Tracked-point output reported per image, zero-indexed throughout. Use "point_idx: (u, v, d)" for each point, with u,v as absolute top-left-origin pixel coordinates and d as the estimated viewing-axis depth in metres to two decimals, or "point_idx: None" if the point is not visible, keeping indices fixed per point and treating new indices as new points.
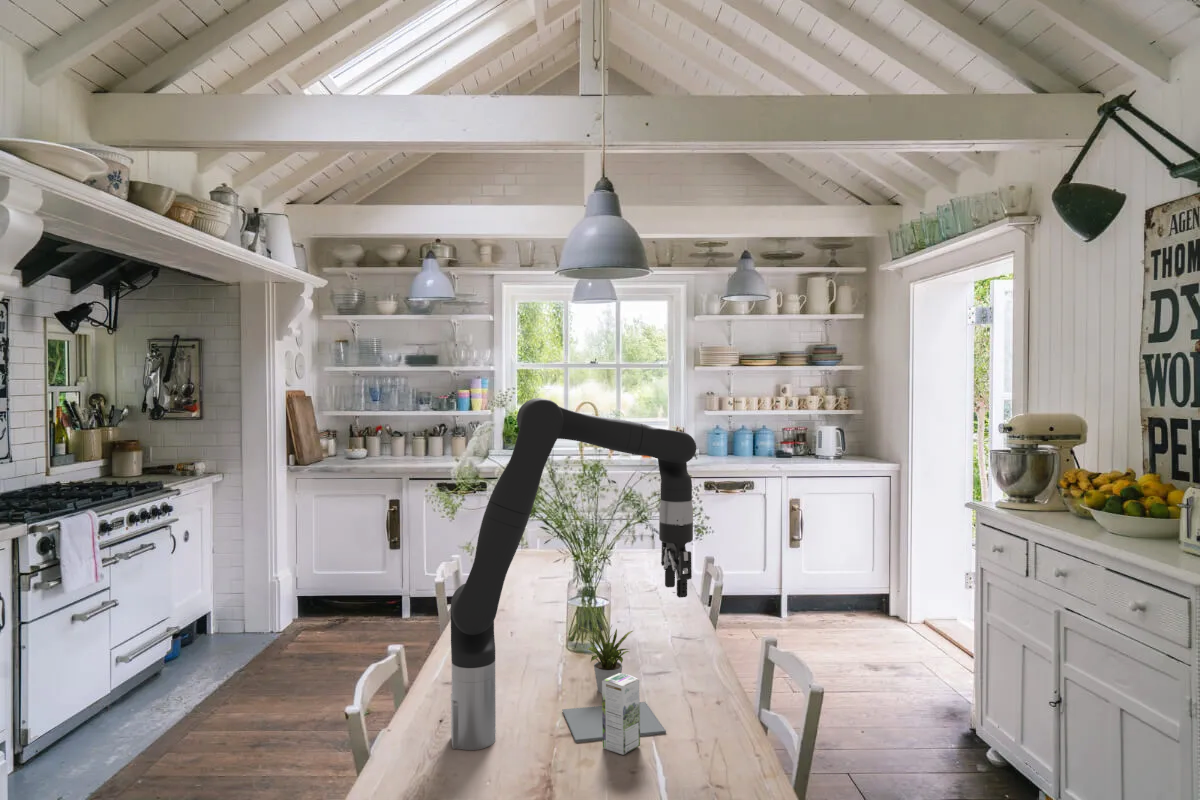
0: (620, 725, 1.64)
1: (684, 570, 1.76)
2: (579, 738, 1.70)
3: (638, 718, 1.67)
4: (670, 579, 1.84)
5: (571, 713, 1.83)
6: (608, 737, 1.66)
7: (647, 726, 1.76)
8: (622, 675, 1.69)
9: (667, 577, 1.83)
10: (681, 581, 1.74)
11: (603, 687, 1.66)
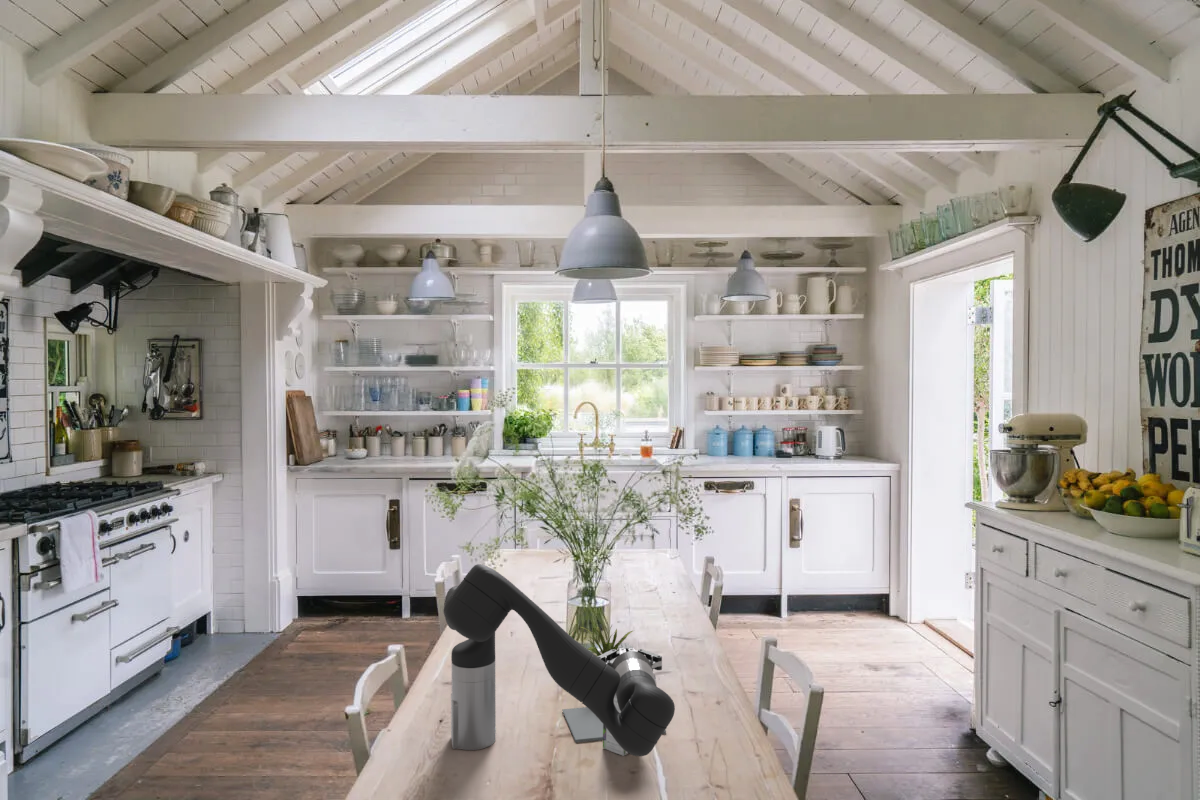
0: None
1: None
2: (579, 738, 1.70)
3: None
4: None
5: (571, 713, 1.83)
6: (609, 738, 1.66)
7: None
8: None
9: None
10: None
11: None
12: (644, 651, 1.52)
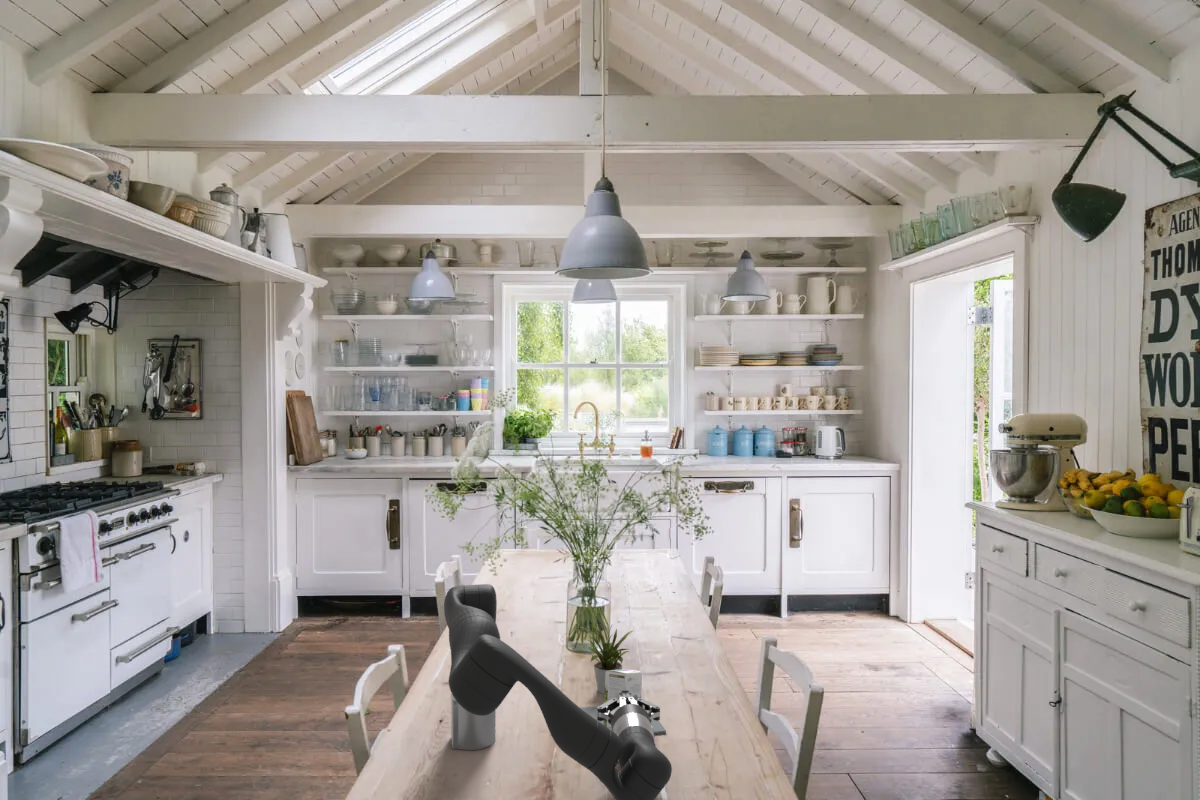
0: None
1: None
2: None
3: None
4: None
5: None
6: None
7: None
8: (625, 669, 1.72)
9: None
10: None
11: (606, 677, 1.70)
12: (643, 701, 1.60)
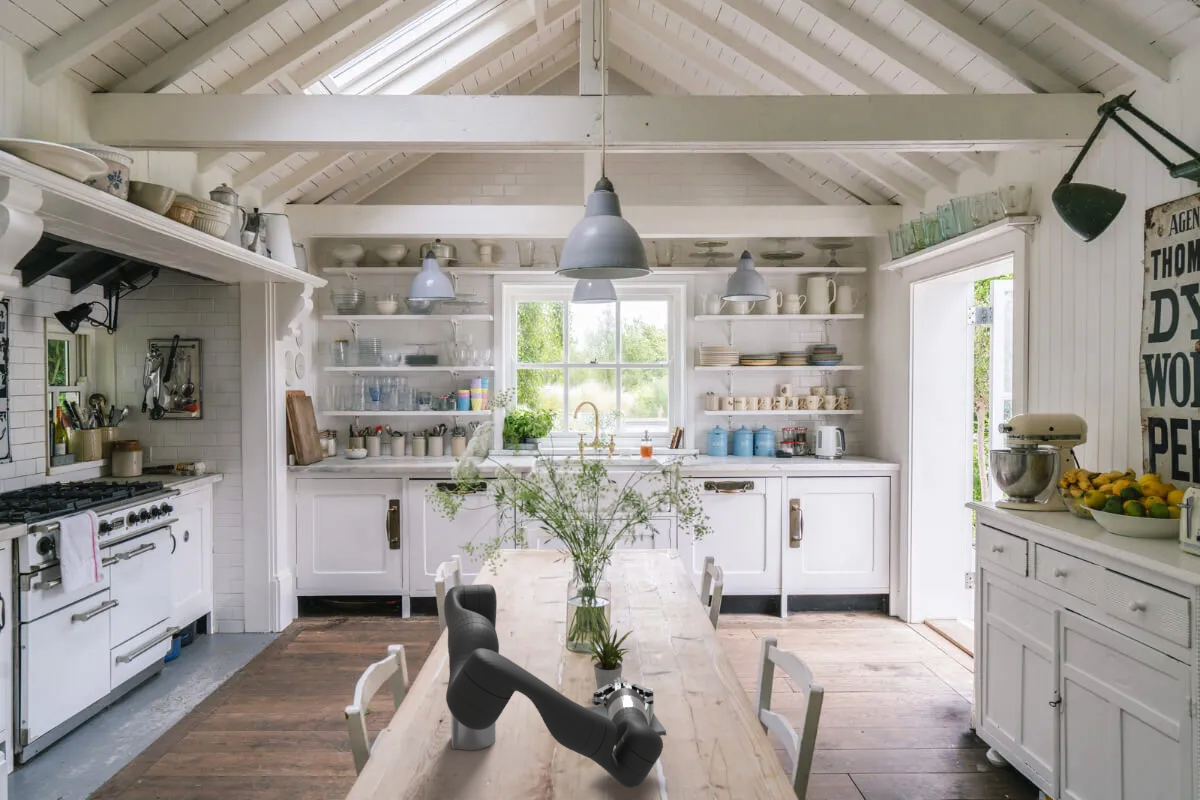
0: None
1: None
2: None
3: (649, 724, 1.76)
4: None
5: None
6: None
7: None
8: None
9: None
10: None
11: None
12: (637, 686, 1.67)
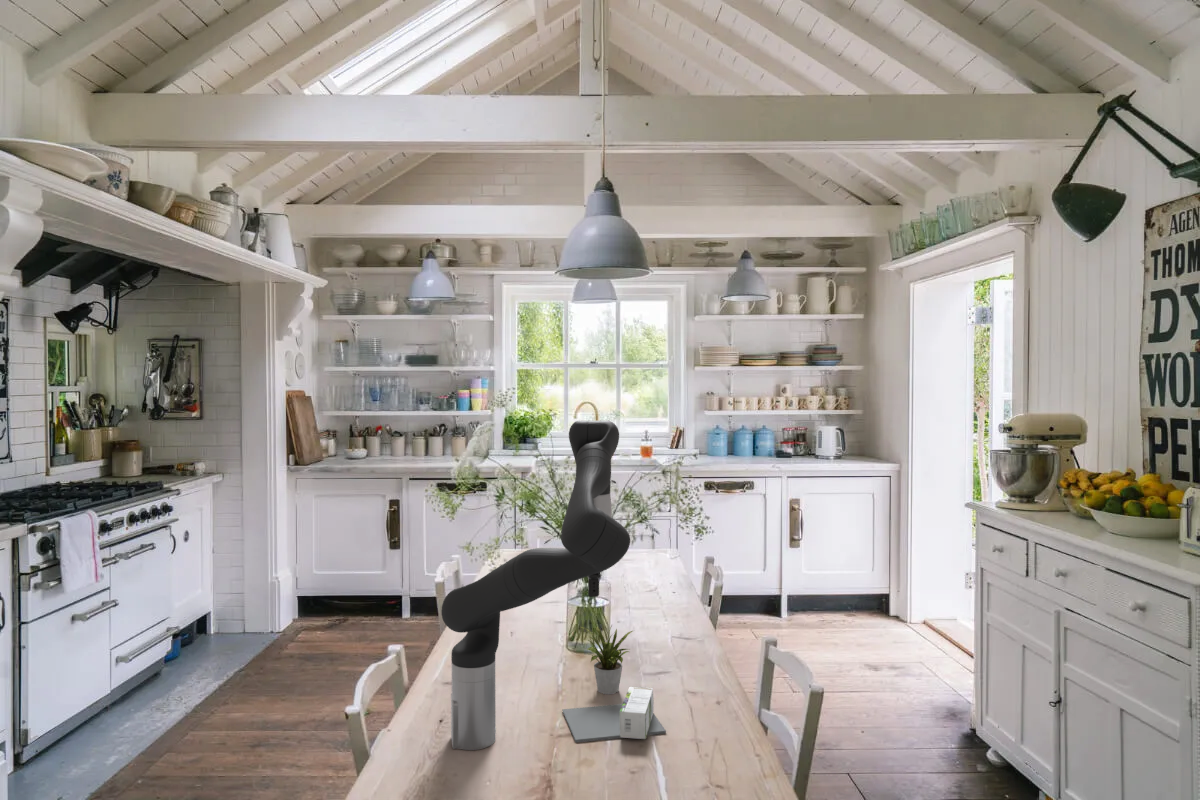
0: (646, 702, 1.76)
1: None
2: (579, 738, 1.70)
3: (649, 724, 1.76)
4: None
5: (571, 713, 1.83)
6: (629, 706, 1.73)
7: None
8: None
9: None
10: None
11: (630, 688, 1.83)
12: None
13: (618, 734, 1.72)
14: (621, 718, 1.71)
